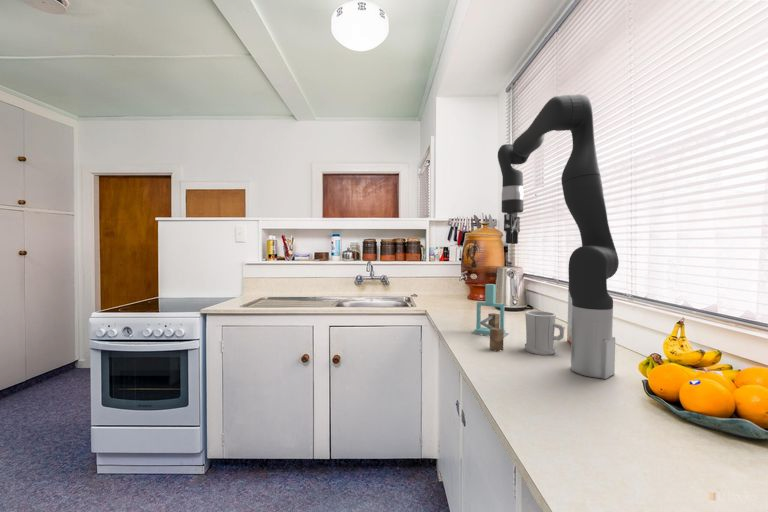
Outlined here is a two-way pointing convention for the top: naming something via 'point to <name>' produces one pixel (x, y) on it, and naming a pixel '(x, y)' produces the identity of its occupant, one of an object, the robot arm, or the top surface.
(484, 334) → the pad
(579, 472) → the top surface
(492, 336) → the wood grain block
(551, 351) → the cup
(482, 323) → the wire
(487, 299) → the turquoise frame with handle
